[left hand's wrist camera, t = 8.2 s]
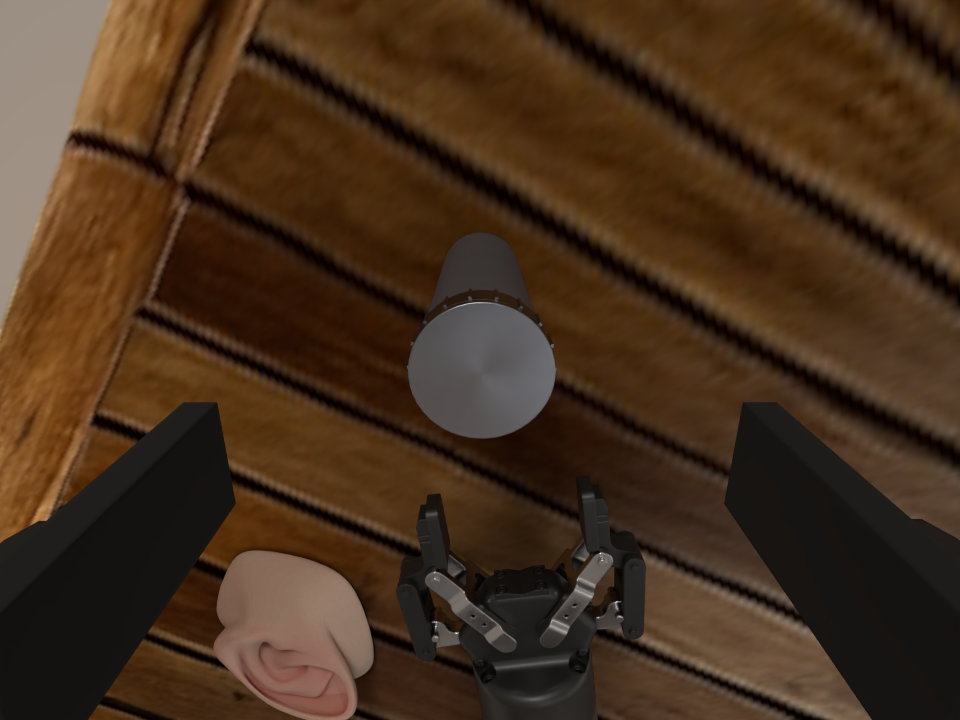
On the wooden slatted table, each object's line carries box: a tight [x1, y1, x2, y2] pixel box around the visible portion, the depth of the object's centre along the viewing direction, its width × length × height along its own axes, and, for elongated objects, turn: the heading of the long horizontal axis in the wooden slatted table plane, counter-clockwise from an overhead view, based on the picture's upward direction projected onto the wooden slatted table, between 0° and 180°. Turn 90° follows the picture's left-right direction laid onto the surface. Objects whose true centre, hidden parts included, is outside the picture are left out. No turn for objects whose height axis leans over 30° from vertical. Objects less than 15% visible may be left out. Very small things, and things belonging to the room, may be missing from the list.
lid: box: [407, 288, 556, 439], centre depth 19 cm, size 5×5×2 cm
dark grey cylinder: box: [429, 233, 534, 312], centre depth 26 cm, size 4×4×16 cm
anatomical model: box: [214, 550, 374, 720], centre depth 41 cm, size 13×4×12 cm
